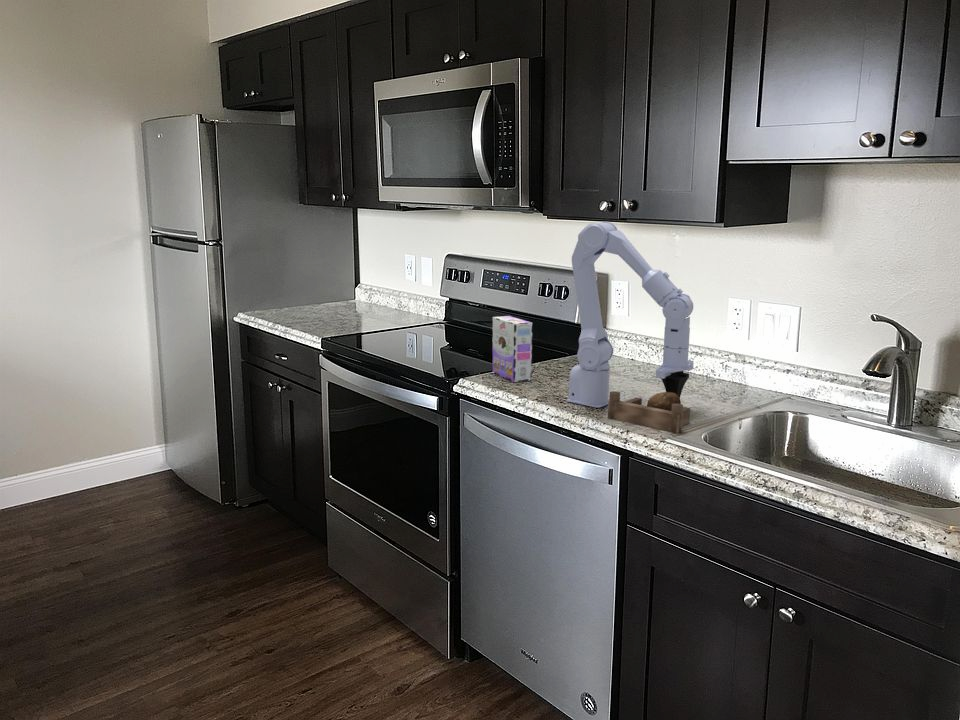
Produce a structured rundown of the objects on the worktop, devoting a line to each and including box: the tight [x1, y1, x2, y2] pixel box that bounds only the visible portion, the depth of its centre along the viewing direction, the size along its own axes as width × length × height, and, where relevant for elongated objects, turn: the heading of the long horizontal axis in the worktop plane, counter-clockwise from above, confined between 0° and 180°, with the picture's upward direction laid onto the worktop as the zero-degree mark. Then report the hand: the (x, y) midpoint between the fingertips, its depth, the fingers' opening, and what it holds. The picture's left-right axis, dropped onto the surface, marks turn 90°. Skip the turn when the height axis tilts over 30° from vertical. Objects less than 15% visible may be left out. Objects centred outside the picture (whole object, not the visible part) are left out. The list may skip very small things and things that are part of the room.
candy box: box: [491, 315, 534, 383], centre depth 232 cm, size 14×6×16 cm, turn 25°
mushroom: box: [646, 391, 682, 411], centre depth 194 cm, size 8×8×6 cm
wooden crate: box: [607, 390, 691, 434], centre depth 190 cm, size 18×9×6 cm, turn 48°
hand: (673, 403), depth 197 cm, fingers closed
